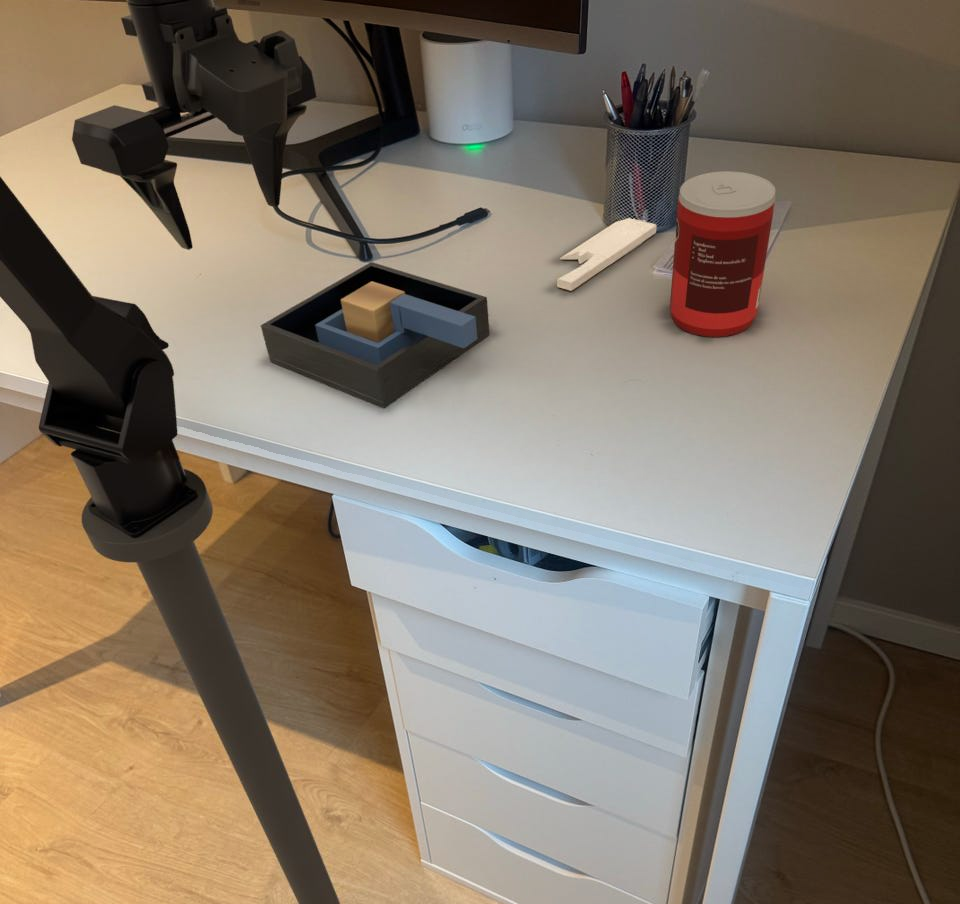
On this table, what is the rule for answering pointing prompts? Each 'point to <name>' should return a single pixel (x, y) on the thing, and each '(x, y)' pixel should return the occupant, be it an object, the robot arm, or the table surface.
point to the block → (370, 311)
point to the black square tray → (378, 384)
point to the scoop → (401, 329)
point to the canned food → (720, 252)
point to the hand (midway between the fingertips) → (231, 226)
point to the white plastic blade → (605, 250)
